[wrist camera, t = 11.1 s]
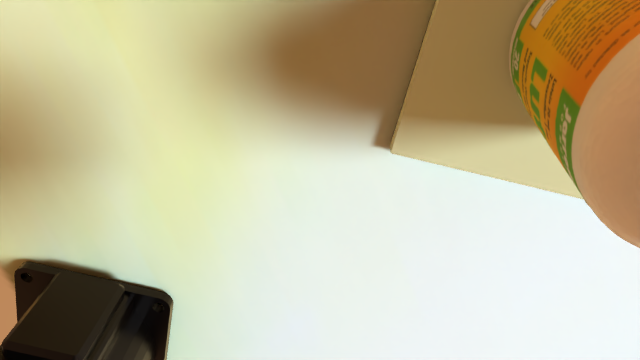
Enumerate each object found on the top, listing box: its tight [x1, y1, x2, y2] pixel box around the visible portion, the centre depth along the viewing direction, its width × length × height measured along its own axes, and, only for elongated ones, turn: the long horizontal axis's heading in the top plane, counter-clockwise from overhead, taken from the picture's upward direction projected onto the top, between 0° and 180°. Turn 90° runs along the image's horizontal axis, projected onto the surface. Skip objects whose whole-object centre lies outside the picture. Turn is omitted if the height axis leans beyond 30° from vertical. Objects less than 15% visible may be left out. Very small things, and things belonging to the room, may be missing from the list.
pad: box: [390, 0, 584, 199], centre depth 17 cm, size 10×10×1 cm
